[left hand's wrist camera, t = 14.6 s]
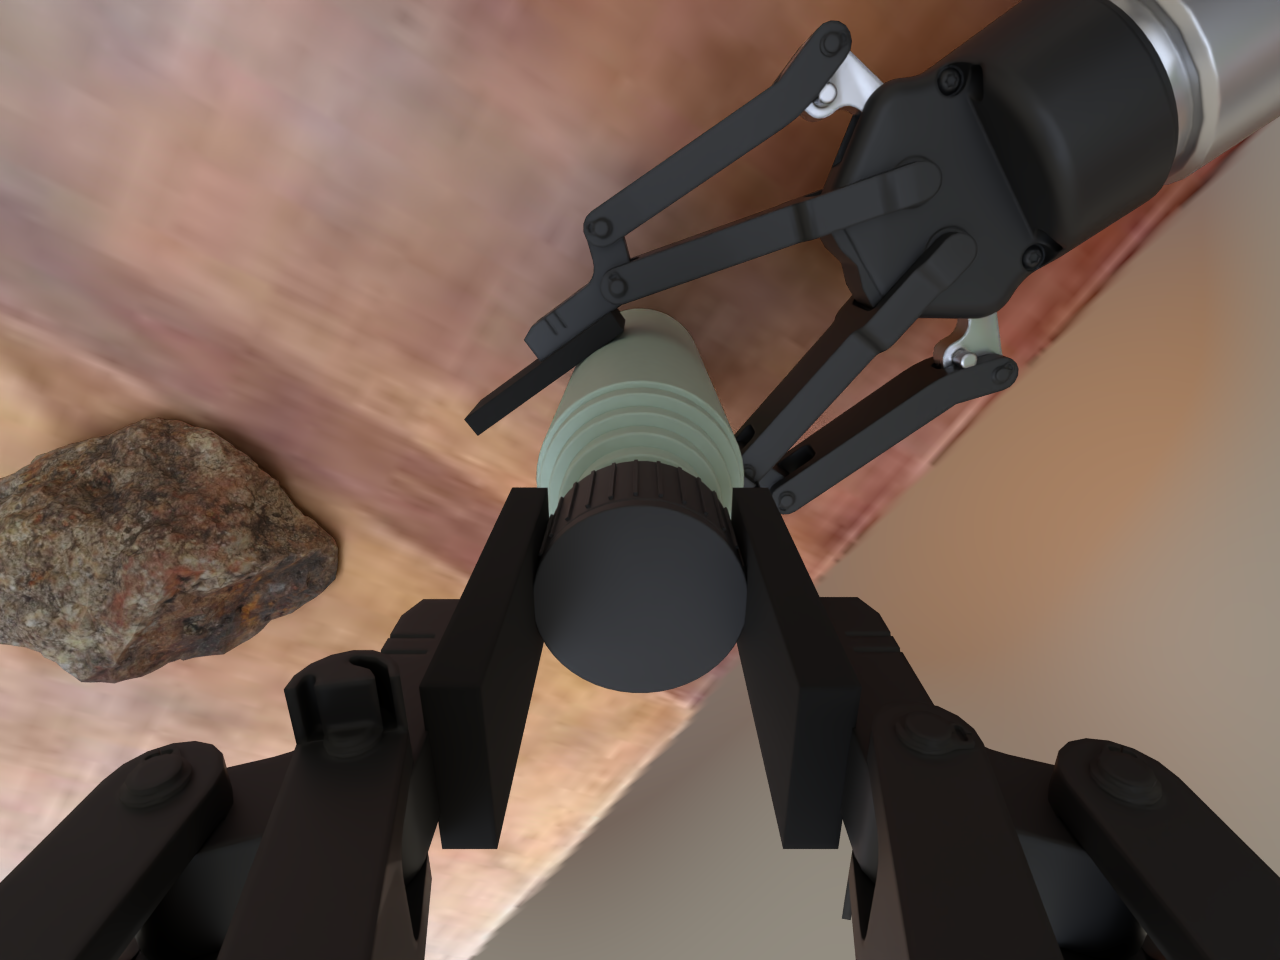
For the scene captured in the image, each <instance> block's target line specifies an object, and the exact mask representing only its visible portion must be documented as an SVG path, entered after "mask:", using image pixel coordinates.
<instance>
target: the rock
mask: <svg viewBox="0 0 1280 960" xmlns="http://www.w3.org/2000/svg"><path fill="white" fill-rule="evenodd" d="M337 554H338V547H337V544H336V542H335V540H334V538H333V537H332V536H331V535H329V534H328V533H327V532H326V531H325V530H324V529H322V528H321V527H320V526H319V525H318V524H317V523H316V522H315V521H314V520H313V519H311V518H310V517H307V516H304V515H303V514H302V512H301V511H300V510H299V509H298V508H296V507H295V506H294V504H293V503H292V501H291V500H290V499H289V497H288V496H287V494H286V493H285V492H284V491H283V489H282V488H281V487H280V486H279V481H277V480H275V479H273V478H271V476H270V475H269V474H268V473H266V472H264V471H263V470H261V469H259V467H258V464H256V463H255V462H254V461H253V460H252V459H251V458H250V457H249V456H248V455H246V454H244V453H243V452H241V451H239V450H237V449H236V448H235V447H234V446H233V445H232V444H231V443H229V442H228V441H226V440H224V439H223V438H221V437H220V436H218V435H217V434H215V433H214V432H213V431H211V430H207V429H203V428H200V427H194V426H192V425H189V424H187V423H185V422H182V421H179V420H165V419H161V418H154V419H143V420H141V421H139V422H137V423H134V424H130V425H128V426H126V427H124V428H123V429H120V430H117V431H115V432H113V433H112V434H110V435H107V436H102V437H96V438H92V439H88V440H85V441H82V442H78V443H72V444H69V445H67V446H64V447H61V448H58V449H55V450H53V451H50V452H48V453H44V454H41V455H38V456H36V457H35V459H34V460H33V461H32V462H31V464H30V465H27V466H25V467H23V468H22V469H20V470H19V471H17V472H16V473H14V474H11V475H9V476H6V477H3V478H0V644H6V645H13V646H20V647H26V648H29V649H32V650H35V651H37V652H40V653H41V654H42V655H43V657H45V658H47V659H49V660H52V661H54V662H56V663H57V664H58V665H59V666H60V667H61V668H62V669H64V670H65V671H66V672H68V673H70V674H71V675H73V676H74V677H75V678H77V679H78V680H79V681H81V682H106V683H117V682H120V681H124V680H128V679H133V678H137V677H142V676H144V675H147V674H149V673H151V672H153V671H155V670H157V669H159V668H161V667H163V666H164V665H166V664H167V663H169V662H173V661H176V660H179V659H181V660H187V659H191V658H194V657H201V656H209V655H221V654H225V653H226V652H228V651H230V650H231V649H233V648H235V647H236V646H238V645H240V644H241V643H243V642H245V641H247V640H249V639H250V638H252V637H253V636H255V635H256V634H258V633H259V632H260V631H261V630H262V629H263V628H264V627H265V626H266V625H267V623H268V622H269V621H270V620H272V619H275V618H278V617H281V616H284V615H287V614H290V613H292V612H294V611H295V610H297V609H298V608H299V607H301V606H302V605H304V604H305V603H307V602H309V601H310V600H312V599H314V598H315V597H317V596H318V595H319V594H320V593H322V592H323V591H324V590H325V589H326V588H327V587H328V586H329V585H330V584H331V583H332V582H333V581H334V580H335V578H336V572H337V565H338V558H337Z"/></svg>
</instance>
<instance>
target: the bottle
mask: <svg viewBox="0 0 1280 960" xmlns="http://www.w3.org/2000/svg"><path fill="white" fill-rule="evenodd" d="M620 313H621V314H622V316H623V317H624V319H625V327H624V332H622V333H621V334H619V335H618V336H617V337H615V338H614V339H612V340H611V341H610V342H608V343H607V344H605V345H604V346H603V347H601V348H600V349H598V350H597V351H596V352H594V353H593V354H591V355H590V356H589V357H587V358H586V359H584V360H583V361H582V362H580V363H579V364H577V365H576V367H575V369H574V371H573V374H572V376H571V378H570V381H569V383H568V385H567V388H566V390H565V392H564V395H563V397H562V399H561V402H560V404H559V407H558V409H557V411H556V414H555V416H554V418H553V421H552V423H551V425H550V428H549V430H548V432H547V435H546V437H545V439H544V442H543V445H542V448H541V451H540V454H539V458H538V464H537V488H548V502H549V517H550V515H551V514H553V515H554V513H555V510H556V508H557V506H558V502H559V499H560V498H561V496H562V497H564V496H565V495H566V494H567V492H568V491H569V490H570V489H571V488H572V487H573V484H574V483H575V482H577V483H578V482H579V481H581V480H582V479H583V478H585V477H586V476H588V475H589V474H591V471H593V470H595V471H597V470H599V469H602V468H604V467H607V466H609V465H612V463H615V462H616V464H617V463H621V462H629V461H634V460H637V459H638V461H652V462H656V461H661V463H664V464H667V465H671V466H674V467H677V468H678V467H681V468H682V470H684V471H686V472H688V473H689V474H691V475H693V476H695V477H696V478H697V477H699V478H701V481H702V482H703V483H704V484H705V485H706V486H707V487H708V488H709V489H710V490H711V491H715V492H716V493H717V497H718V499H719V500H720V502H721V504H722V506H723V507H724V508H725V507H727V509H728V512H729V515H730V519H731V510H732V491H733V488H743V486H744V468H743V460H742V456H741V452H740V449H739V445H738V443H737V441H736V438H735V436H734V434H733V431H732V429H731V427H730V424H729V422H728V420H727V417H726V415H725V413H724V410H723V408H722V406H721V403H720V401H719V399H718V396H717V394H716V392H715V389H714V387H713V385H712V382H711V380H710V378H709V375H708V373H707V371H706V368H705V366H704V364H703V361H702V359H701V357H700V354H699V352H698V350H697V347H696V345H695V343H694V341H693V339H692V337H691V336H690V334H689V333H688V331H687V330H686V329H685V328H684V327H683V326H682V325H681V324H680V323H679V322H678V321H676V320H675V319H674V318H672V317H670V316H668V315H667V314H664V313H662V312H659V311H656V310H651V309H643V308H639V309H629V310H624V311H621V312H620Z"/></svg>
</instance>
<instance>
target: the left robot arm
mask: <svg viewBox="0 0 1280 960" xmlns="http://www.w3.org/2000/svg"><path fill="white" fill-rule="evenodd" d="M548 521H549V502H548V488H512V489H511V491H510V494H509V496H508V498H507V500H506V502H505V504H504V506H503V508H502V511H501V513H500V515H499V517H498V519H497V521H496V523H495V525H494V528H493V530H492V532H491V534H490V536H489V538H488V540H487V543H486V545H485V547H484V549H483V551H482V553H481V555H480V557H479V560H478V562H477V564H476V566H475V568H474V570H473V572H472V575H471V577H470V579H469V581H468V583H467V585H466V587H465V589H464V592H463V594H462V596H461V598H460V599H423V600H422V601H420V602H419V603H418V604H416V605H415V606H414V607H412V608H411V609H410V610H408V611H407V612H406V613H404V614H403V615H402V616H401V617H400V619H399V621H398V623H397V624H396V626H395V628H394V629H393V631H392V633H391V634H390V638H388V639H387V641H386V643H385V644H384V646H383V648H382V649H381V652H377V651H374V650H352V651H348V652H343V653H338V654H334V655H330V656H328V657H326V658H323V659H321V660H318V661H316V662H314V663H311V664H310V665H308V666H307V667H306V668H304V669H303V670H301V671H300V672H299V673H297V674H296V675H294V676H293V678H292V679H291V681H290V682H289V683H288V685H287V686H286V687H285V689H284V693H285V697H286V701H287V705H288V710H289V714H290V718H291V722H292V727H293V731H294V735H295V739H296V744H297V745H296V747H295V750H294V751H292V752H289V753H285V754H282V755H279V756H275V757H272V758H267V759H263V760H258V761H254V762H250V763H245V764H241V765H237V766H232V767H228V768H227V767H226V764H225V760H224V757H223V754H222V753H221V752H220V751H219V750H218V749H217V748H216V747H215V746H214V745H212V744H208V743H203V742H198V741H191V742H181V743H173V744H169V745H166V746H163V747H160V748H157V749H154V750H151V751H148V752H146V753H144V754H142V755H140V756H138V757H136V758H134V759H132V760H130V761H129V762H127V763H125V764H123V765H122V766H120V767H119V768H118V769H117V770H115V771H114V772H113V773H112V774H110V775H109V776H108V777H107V778H105V779H104V780H103V781H102V782H101V783H100V784H99V785H98V786H97V787H96V788H95V789H94V790H93V791H92V792H91V793H90V794H89V795H88V796H87V797H86V798H85V799H84V800H83V801H82V802H81V803H80V804H79V805H78V806H77V807H76V808H75V809H74V810H73V811H72V812H71V813H70V814H69V815H68V816H67V817H66V818H65V819H64V820H63V821H62V822H61V823H60V824H59V825H58V826H57V827H56V828H55V829H54V830H53V831H52V832H51V833H50V834H49V835H48V836H47V837H46V838H45V839H44V840H43V841H42V842H41V843H40V844H39V845H38V846H37V847H36V848H35V849H34V850H33V851H32V852H31V853H30V854H29V855H28V856H27V857H26V858H25V859H24V860H23V861H22V862H21V863H20V864H19V865H18V866H17V867H16V868H15V869H14V870H13V871H12V872H11V873H10V874H9V875H8V876H7V877H6V878H5V879H4V880H3V881H2V882H1V883H0V960H424V957H425V946H426V936H427V925H428V914H429V903H430V892H431V881H432V877H431V870H430V863H429V856H428V850H429V847H430V844H431V841H432V838H433V835H434V832H435V829H436V826H437V823H439V830H440V836H441V843H442V849H497V847H498V843H499V839H500V834H501V830H502V825H503V821H504V816H505V812H506V808H507V803H508V799H509V794H510V790H511V785H512V781H513V776H514V772H515V768H516V763H517V759H518V754H519V750H520V745H521V741H522V736H523V732H524V728H525V723H526V719H527V714H528V710H529V705H530V701H531V697H532V692H533V688H534V683H535V679H536V674H537V670H538V665H539V661H540V657H541V652H542V648H543V643H544V641H543V639H542V637H541V635H540V633H539V631H538V628H537V625H536V622H535V608H534V592H533V583H534V579H535V575H536V571H537V568H538V564H539V561H540V557H539V556H538V554H539V551H540V547H541V544H542V541H543V537H544V534H545V531H546V527H547V524H548ZM731 522H732V525H733V529H734V532H735V535H736V539H737V542H738V546H739V549H740V553H741V556H742V559H743V563H744V572H745V576H746V580H747V599H746V615H745V625H744V627H743V630H742V633H741V635H740V637H739V638H738V640H737V646H738V650H739V655H740V659H741V664H742V668H743V672H744V677H745V681H746V686H747V690H748V695H749V699H750V704H751V708H752V713H753V717H754V721H755V726H756V730H757V735H758V739H759V744H760V748H761V752H762V757H763V761H764V766H765V770H766V775H767V779H768V784H769V788H770V792H771V797H772V801H773V806H774V810H775V815H776V819H777V823H778V828H779V832H780V837H781V841H782V846H783V849H838V846H839V839H840V832H841V826H842V819H843V822H844V825H845V828H846V830H847V834H848V837H849V840H850V843H851V846H852V849H853V850H852V857H851V863H850V869H849V876H848V882H847V888H846V895H845V901H844V908H843V915H842V919H847V920H851V915H852V923H853V934H854V945H855V956H856V960H1280V877H1279V876H1278V875H1277V874H1276V873H1275V872H1274V871H1273V870H1272V869H1271V868H1270V867H1269V866H1268V865H1267V864H1266V863H1265V862H1264V861H1263V860H1262V859H1260V857H1258V856H1257V855H1256V854H1255V853H1254V852H1253V851H1252V850H1251V849H1250V848H1249V847H1248V846H1247V845H1246V844H1245V843H1244V842H1243V841H1242V840H1241V839H1240V838H1239V837H1238V836H1237V835H1236V834H1235V833H1234V832H1233V831H1232V830H1231V829H1230V828H1229V827H1228V826H1227V825H1226V824H1225V823H1224V822H1223V821H1222V820H1221V819H1220V818H1219V817H1218V816H1217V815H1216V814H1215V813H1214V812H1213V811H1212V810H1211V809H1210V808H1209V807H1208V806H1207V805H1206V804H1205V803H1204V802H1203V801H1202V800H1201V799H1200V798H1199V797H1198V796H1197V795H1196V794H1195V793H1194V792H1193V791H1192V790H1191V789H1190V788H1189V787H1188V786H1187V785H1186V784H1185V783H1184V782H1183V781H1182V780H1181V779H1180V778H1179V777H1177V776H1176V775H1175V774H1174V773H1172V772H1171V771H1170V770H1168V769H1167V768H1166V767H1165V766H1163V765H1162V764H1161V763H1160V762H1158V761H1156V760H1155V759H1153V758H1151V757H1149V756H1147V755H1145V754H1143V753H1141V752H1139V751H1137V750H1135V749H1133V748H1130V747H1127V746H1124V745H1121V744H1118V743H1114V742H1111V741H1107V740H1098V739H1088V738H1085V739H1080V740H1075V741H1070V742H1068V743H1067V744H1066V745H1065V746H1064V747H1062V748H1061V749H1060V750H1059V752H1058V756H1057V759H1056V762H1055V765H1051V764H1047V763H1043V762H1038V761H1034V760H1030V759H1025V758H1021V757H1016V756H1012V755H1008V754H1004V753H1001V752H998V751H994V750H991V749H988V748H986V747H985V746H984V744H983V742H982V740H981V739H980V737H979V736H978V734H977V733H976V731H975V730H974V729H973V728H972V727H971V726H970V725H969V724H967V723H966V722H965V721H964V720H962V719H961V718H960V717H959V716H957V715H955V714H953V713H951V712H949V711H947V710H945V709H943V708H941V707H939V706H935V705H934V704H933V703H932V701H931V699H930V697H929V696H928V694H927V692H926V691H925V689H924V687H923V686H922V684H921V683H920V681H919V679H918V678H917V676H916V674H915V673H914V671H913V669H912V667H911V666H910V664H909V663H908V661H907V659H906V657H905V656H904V654H903V653H902V652H900V647H899V646H898V644H897V643H896V641H895V639H894V637H893V636H891V635H890V631H889V629H888V627H887V626H886V624H885V623H884V621H883V619H882V617H881V616H880V614H879V613H878V612H876V611H875V610H874V609H872V608H871V607H870V606H869V605H867V604H866V603H864V602H863V601H862V600H860V599H859V598H858V597H819V595H818V593H817V591H816V589H815V586H814V584H813V582H812V580H811V578H810V576H809V574H808V571H807V569H806V567H805V565H804V563H803V561H802V559H801V557H800V554H799V552H798V550H797V548H796V546H795V544H794V542H793V540H792V537H791V535H790V533H789V531H788V529H787V527H786V525H785V522H784V520H783V518H782V516H781V514H780V512H779V510H778V508H777V505H776V503H775V501H774V499H773V497H772V495H771V493H770V490H769V488H733V491H732V510H731Z"/></svg>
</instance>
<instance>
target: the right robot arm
mask: <svg viewBox="0 0 1280 960" xmlns="http://www.w3.org/2000/svg"><path fill="white" fill-rule="evenodd" d="M851 43H852V40H851V34H850V31H849V30H848V28H847V27H846V25H844V24H843V23H841V22H839V21H828V22H826V23H823V24H822V25H821V26H820V27H819V28H818V29H817V30H816V31H815V32H814V33H813V34H812V35H811V36H810V37H809V38H808V39H807V40H806V41H805V42H804V44H803V45H802V46H801V47H800V48H799V49H798V50H797V52H796V53H795V54H794V56H793V57H792V58H791V60H790V61H789V63H788V64H787V65H786V67H785V68H784V69H783V71H782V72H781V73H780V75H779V76H778V78H777V79H776V80H775V82H774V83H773V84H772V86H771V87H770V88H768V89H767V90H765V91H764V92H762V93H761V94H759V95H758V96H757V97H755V98H754V99H752V100H751V101H749V102H748V103H747V104H745V105H744V106H742V107H741V108H739V109H738V110H736V111H735V112H734V113H732V114H731V115H729V116H728V117H726V118H725V119H724V120H722V121H721V122H719V123H718V124H716V125H715V126H713V127H712V128H711V129H709V130H708V131H706V132H705V133H703V134H702V135H701V136H699V137H698V138H696V139H695V140H693V141H692V142H690V143H689V144H688V145H686V146H685V147H683V148H682V149H680V150H679V151H678V152H676V153H675V154H673V155H672V156H670V157H669V158H668V159H666V160H665V161H663V162H662V163H660V164H659V165H657V166H656V167H655V168H653V169H652V170H650V171H649V172H647V173H646V174H645V175H643V176H642V177H640V178H639V179H637V180H636V181H634V182H633V183H632V184H630V185H629V186H627V187H626V188H624V189H623V190H622V191H620V192H619V193H617V194H616V195H614V196H613V197H611V198H610V199H609V200H607V201H606V202H604V203H603V204H601V205H600V206H599V207H597V208H596V209H594V210H593V211H591V212H590V213H589V215H588V216H587V217H586V219H585V221H584V234H585V237H586V239H587V241H588V245H589V248H590V252H591V256H592V259H593V264H594V273H593V276H592V279H591V281H590V282H589V283H588V284H586V285H585V286H584V287H582V288H581V289H580V290H578V291H577V292H576V293H574V294H573V295H572V296H570V297H569V298H568V299H566V300H565V301H564V302H562V303H561V304H560V305H558V306H557V307H556V308H554V309H553V310H552V311H550V312H549V313H547V314H546V315H545V316H543V317H542V318H541V319H539V320H538V321H537V322H536V323H535V324H534V325H533V326H532V327H531V329H530V330H529V332H528V334H527V336H526V337H525V339H524V341H525V342H526V343H527V345H528V346H529V347H530V349H531V350H532V351H533V353H534V354H535V355H536V356H537V358H538V359H537V360H535V361H534V362H533V363H531V364H530V365H528V366H527V367H526V368H524V369H523V370H522V371H520V372H519V373H518V374H516V375H515V376H513V377H512V378H511V379H509V380H508V381H507V382H505V383H504V384H502V385H501V386H500V387H498V388H497V389H496V390H494V391H493V392H491V393H490V394H489V395H487V396H486V397H485V398H483V399H482V400H481V401H480V402H479V403H478V404H477V405H476V406H475V408H474V409H473V410H472V411H471V412H470V413H469V415H468V416H467V417H466V418H465V419H464V420H465V421H466V422H467V423H468V425H469V426H470V427H471V428H472V429H473V431H474V432H475V433H476V434H477V435H480V434H481V433H482V432H484V431H485V430H487V429H488V428H489V427H491V426H492V425H494V424H495V423H496V422H498V421H499V420H501V419H502V418H503V417H505V416H506V415H508V414H509V413H510V412H512V411H513V410H515V409H516V408H517V407H519V406H520V405H522V404H523V403H524V402H526V401H527V400H529V399H530V398H531V397H533V396H534V395H536V394H537V393H538V392H540V391H541V390H542V389H544V388H545V387H547V386H548V385H549V384H551V383H552V382H554V381H555V380H556V379H558V378H559V377H561V376H562V375H563V374H565V373H566V372H568V371H569V370H570V369H572V368H573V367H575V366H576V365H577V364H579V363H580V362H582V361H583V360H584V359H586V358H587V357H589V356H590V355H591V354H593V353H594V352H596V351H597V350H598V349H600V348H601V347H603V346H604V345H605V344H607V343H608V342H610V341H611V340H612V339H614V338H615V337H617V336H618V335H619V334H621V333H622V332H624V327H625V319H624V317H623V316H622V314H621V313H620V311H619V310H618V309H617V308H618V307H619V306H621V305H622V304H626V303H628V302H631V301H634V300H637V299H640V298H643V297H646V296H648V295H651V294H654V293H657V292H660V291H663V290H666V289H668V288H671V287H674V286H677V285H680V284H683V283H686V282H689V281H691V280H694V279H697V278H700V277H703V276H706V275H709V274H711V273H714V272H717V271H720V270H723V269H726V268H729V267H731V266H734V265H737V264H740V263H743V262H746V261H749V260H752V259H754V258H757V257H760V256H763V255H766V254H769V253H772V252H774V251H777V250H780V249H783V248H786V247H789V246H792V245H794V244H797V243H801V242H805V241H809V240H813V239H816V238H819V237H820V239H821V241H822V242H823V244H824V246H825V247H826V248H827V249H828V250H829V251H830V252H831V253H832V254H833V255H834V256H835V257H836V258H837V259H838V260H839V261H840V262H841V264H842V268H843V273H844V277H845V281H846V284H847V286H848V288H849V290H850V291H851V293H852V296H851V297H850V299H849V300H848V301H847V302H846V303H845V304H844V305H843V307H842V308H841V309H840V310H839V311H838V313H837V315H836V317H835V320H834V322H833V324H832V325H831V326H830V327H829V328H828V329H827V331H826V332H825V333H824V334H823V335H822V336H821V337H820V338H819V340H818V341H817V342H816V343H815V344H814V345H813V346H812V348H811V349H810V350H809V351H808V352H807V353H806V354H805V355H804V357H803V358H802V359H801V360H800V361H799V362H798V363H797V365H796V366H795V367H794V368H793V369H792V370H791V371H790V372H789V374H788V375H787V376H786V377H785V378H784V379H783V380H782V382H781V383H780V384H779V385H778V386H777V387H776V388H775V389H774V391H773V392H772V393H771V394H770V395H769V396H768V397H767V399H766V400H765V401H764V402H763V403H762V404H761V405H760V406H759V408H758V409H757V410H756V411H755V412H754V413H753V414H752V415H751V417H750V418H749V419H748V420H747V421H746V422H745V423H744V425H743V426H742V427H741V428H740V429H739V430H738V431H737V432H736V434H735V435H734V436H735V438H736V441H737V443H738V445H739V449H740V452H741V456H742V460H743V468H744V486H743V488H769V490H770V493H771V495H772V497H773V499H774V501H775V503H776V505H777V508H778V510H779V512H780V514H790V513H793V512H795V511H796V510H798V509H799V508H801V507H802V506H804V505H805V504H807V503H808V502H810V501H811V500H813V499H814V498H816V497H817V496H819V495H820V494H822V493H823V492H825V491H826V490H828V489H829V488H831V487H832V486H834V485H835V484H837V483H838V482H840V481H841V480H843V479H844V478H846V477H847V476H849V475H850V474H852V473H853V472H855V471H856V470H858V469H859V468H861V467H862V466H864V465H865V464H867V463H868V462H870V461H871V460H873V459H874V458H876V457H877V456H879V455H880V454H882V453H883V452H885V451H886V450H888V449H889V448H891V447H892V446H894V445H895V444H897V443H898V442H900V441H901V440H903V439H904V438H906V437H907V436H909V435H910V434H912V433H913V432H915V431H916V430H918V429H919V428H921V427H922V426H924V425H925V424H927V423H928V422H930V421H931V420H933V419H934V418H936V417H937V416H939V415H940V414H942V413H943V412H945V411H946V410H948V409H949V408H951V407H952V406H954V405H955V404H958V403H961V402H965V401H968V400H971V399H975V398H978V397H982V396H985V395H988V394H992V393H995V392H998V391H1002V390H1004V389H1006V388H1008V387H1010V386H1011V385H1012V384H1013V383H1014V382H1015V380H1016V378H1017V376H1018V366H1017V363H1016V362H1015V361H1014V360H1012V359H1010V358H1008V357H1005V356H1003V355H1002V351H1001V343H1000V335H999V327H998V319H997V311H999V310H1000V309H1001V308H1002V307H1003V306H1004V305H1005V304H1006V303H1007V302H1008V301H1009V299H1010V298H1011V296H1012V295H1013V293H1014V291H1015V290H1016V289H1017V287H1018V286H1019V285H1020V284H1021V283H1022V281H1023V280H1024V279H1025V278H1026V277H1027V276H1029V275H1030V274H1031V273H1033V272H1034V271H1036V270H1037V269H1039V268H1041V267H1043V266H1045V265H1047V264H1048V263H1050V262H1052V261H1054V260H1056V259H1057V258H1059V257H1061V256H1062V255H1064V254H1065V253H1067V252H1069V251H1070V250H1072V249H1073V248H1075V247H1076V246H1078V245H1080V244H1081V243H1083V242H1084V241H1086V240H1087V239H1089V238H1091V237H1092V236H1094V235H1095V234H1097V233H1098V232H1100V231H1101V230H1103V229H1105V228H1106V227H1108V226H1109V225H1111V224H1112V223H1114V222H1116V221H1117V220H1119V219H1120V218H1122V217H1123V216H1125V215H1127V214H1128V213H1130V212H1131V211H1133V210H1134V209H1136V208H1138V207H1139V206H1141V205H1142V204H1144V203H1145V202H1147V201H1148V200H1150V199H1151V198H1152V197H1154V196H1155V195H1156V194H1157V193H1158V191H1159V190H1160V189H1161V188H1162V186H1163V185H1168V184H1171V183H1173V182H1176V181H1179V180H1181V179H1184V178H1186V177H1187V176H1189V175H1190V174H1192V173H1193V172H1195V171H1196V170H1198V169H1200V168H1201V167H1203V166H1204V165H1206V164H1207V163H1209V162H1210V161H1212V160H1213V159H1215V158H1216V157H1218V156H1219V155H1221V154H1222V153H1224V152H1225V151H1227V150H1229V149H1230V148H1232V147H1233V146H1235V145H1236V144H1238V143H1239V142H1241V141H1242V140H1244V139H1245V138H1247V137H1248V136H1250V135H1251V134H1253V133H1255V132H1256V131H1258V130H1259V129H1261V128H1262V127H1264V126H1265V125H1267V124H1268V123H1270V122H1271V121H1273V120H1274V119H1276V118H1277V117H1279V116H1280V0H1022V1H1021V2H1019V3H1018V4H1017V5H1015V6H1014V7H1013V8H1011V9H1010V10H1009V11H1007V12H1006V13H1004V14H1003V15H1002V16H1000V17H999V18H998V19H996V20H995V21H993V22H992V23H991V24H989V25H988V26H987V27H985V28H984V29H982V30H981V31H980V32H978V33H977V34H976V35H974V36H973V37H972V38H970V39H969V40H967V41H966V42H965V43H963V44H962V45H961V46H959V47H958V48H956V49H955V50H954V51H952V52H951V53H950V54H948V55H947V56H946V57H944V58H943V59H941V60H940V61H939V62H937V63H936V64H935V65H933V66H932V67H930V68H929V69H928V70H926V71H925V72H923V73H922V74H920V75H917V76H913V77H906V78H897V79H893V80H890V81H888V82H886V83H884V84H883V83H882V82H881V81H880V80H879V79H878V78H877V77H876V76H875V75H874V74H873V73H872V72H871V71H870V70H869V69H868V68H867V67H866V66H865V65H864V64H863V63H862V62H861V61H860V60H859V59H858V58H857V57H856V56H855V55H854V54H853V53H852V52H851V51H850V49H851ZM836 110H845V111H848V112H849V113H851V114H852V115H853V116H852V119H851V121H850V123H849V126H848V128H847V131H846V133H845V136H844V138H843V141H842V143H841V146H840V148H839V151H838V153H837V156H836V158H835V160H834V163H833V165H832V168H831V170H830V173H829V175H828V178H827V180H826V183H825V185H824V188H823V189H822V190H819V191H816V192H813V193H810V194H808V195H805V196H802V197H799V198H796V199H794V200H791V201H788V202H785V203H783V204H781V205H778V206H776V207H773V208H770V209H768V210H765V211H762V212H759V213H756V214H754V215H751V216H748V217H745V218H742V219H740V220H737V221H734V222H731V223H728V224H726V225H723V226H720V227H717V228H714V229H712V230H709V231H706V232H703V233H700V234H698V235H695V236H692V237H689V238H686V239H684V240H681V241H678V242H675V243H672V244H670V245H667V246H664V247H661V248H658V249H656V250H653V251H650V252H647V253H644V254H642V255H639V256H636V257H633V258H630V255H629V251H628V248H627V244H626V240H625V235H627V234H628V233H630V232H631V231H633V230H634V229H636V228H637V227H639V226H640V225H641V224H643V223H644V222H646V221H647V220H649V219H650V218H652V217H653V216H655V215H656V214H658V213H659V212H661V211H662V210H664V209H665V208H666V207H668V206H669V205H671V204H672V203H674V202H675V201H677V200H678V199H680V198H681V197H683V196H684V195H686V194H687V193H689V192H690V191H691V190H693V189H694V188H696V187H697V186H699V185H700V184H702V183H703V182H705V181H706V180H708V179H709V178H711V177H712V176H714V175H715V174H717V173H718V172H719V171H721V170H722V169H724V168H725V167H727V166H728V165H730V164H731V163H733V162H734V161H736V160H737V159H739V158H740V157H742V156H743V155H744V154H746V153H747V152H749V151H750V150H752V149H753V148H755V147H756V146H758V145H759V144H761V143H762V142H764V141H765V140H767V139H768V138H769V137H771V136H772V135H774V134H775V133H777V132H778V131H780V130H781V129H783V128H784V127H785V126H787V125H788V124H789V123H791V122H792V121H793V120H795V119H796V118H797V117H798V116H799V115H800V116H801V117H802V118H803V119H805V120H806V121H810V122H817V121H820V120H822V119H824V118H826V117H828V116H830V115H831V114H832V113H834V112H835V111H836ZM917 318H955V319H957V325H956V327H955V329H954V331H953V332H952V333H951V334H950V335H949V336H947V337H945V338H944V339H942V340H940V341H939V342H938V343H937V344H936V345H935V347H934V352H933V357H931V358H928V359H925V360H923V361H921V362H919V363H917V364H915V365H913V366H911V367H910V368H908V369H907V370H905V371H903V372H902V373H900V374H899V375H898V376H896V377H895V378H893V379H892V380H890V381H889V382H887V383H886V384H885V385H883V386H882V387H880V388H879V389H877V390H876V391H874V392H873V393H872V394H870V395H869V396H867V397H866V398H864V399H863V400H861V401H860V402H859V403H857V404H856V405H854V406H853V407H851V408H850V409H848V410H847V411H846V412H844V413H843V414H841V415H840V416H838V417H837V418H835V419H834V420H833V421H831V422H830V423H828V424H827V425H825V426H824V427H822V428H821V429H820V430H818V431H817V432H815V433H814V434H812V435H811V436H809V437H808V438H807V439H805V440H804V441H802V442H801V443H799V444H798V445H796V446H795V447H794V448H792V449H791V450H789V449H790V448H791V447H792V446H793V445H794V444H795V443H796V442H797V440H798V439H799V438H800V437H801V436H802V435H803V434H804V433H805V432H806V431H807V430H808V429H809V427H810V426H811V425H812V424H813V423H814V422H815V421H816V420H817V419H818V418H819V417H820V415H821V414H822V413H823V412H824V411H825V410H826V409H827V408H828V407H829V406H830V405H831V404H832V402H833V401H834V400H835V399H836V398H837V397H838V396H839V395H840V394H841V393H842V392H843V391H844V389H845V388H846V387H847V386H848V385H849V384H850V383H851V382H852V381H853V380H854V379H855V378H856V376H857V375H858V374H859V373H860V372H861V371H862V370H863V369H864V368H865V367H866V366H867V364H868V363H869V362H870V361H871V360H872V359H873V358H874V357H875V356H876V355H877V354H879V353H881V352H883V351H886V350H887V349H888V348H890V347H891V346H892V345H893V344H894V343H895V342H896V341H897V340H898V339H899V338H900V337H901V336H902V335H903V334H904V332H905V331H906V330H907V329H908V328H909V327H910V326H911V325H912V324H913V323H914V322H915V321H916V319H917ZM788 450H789V451H788ZM787 451H788V452H787Z"/></svg>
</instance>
